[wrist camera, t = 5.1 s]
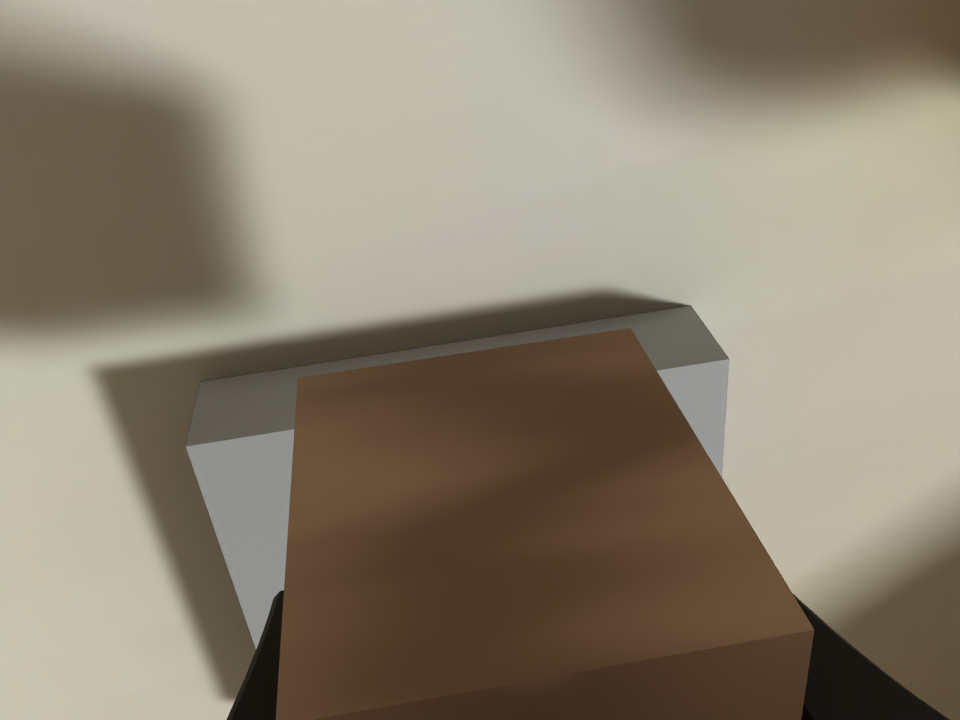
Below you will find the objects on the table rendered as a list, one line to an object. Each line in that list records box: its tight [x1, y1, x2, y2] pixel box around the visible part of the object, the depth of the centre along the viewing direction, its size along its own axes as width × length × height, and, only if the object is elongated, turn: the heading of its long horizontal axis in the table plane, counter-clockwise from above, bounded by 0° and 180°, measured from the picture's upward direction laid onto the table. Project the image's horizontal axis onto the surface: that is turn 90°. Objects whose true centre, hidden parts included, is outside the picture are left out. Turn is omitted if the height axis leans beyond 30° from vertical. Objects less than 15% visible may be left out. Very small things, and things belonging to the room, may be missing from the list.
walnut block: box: [276, 328, 814, 720], centre depth 12 cm, size 5×5×6 cm
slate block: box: [186, 306, 729, 649], centre depth 24 cm, size 12×12×3 cm
